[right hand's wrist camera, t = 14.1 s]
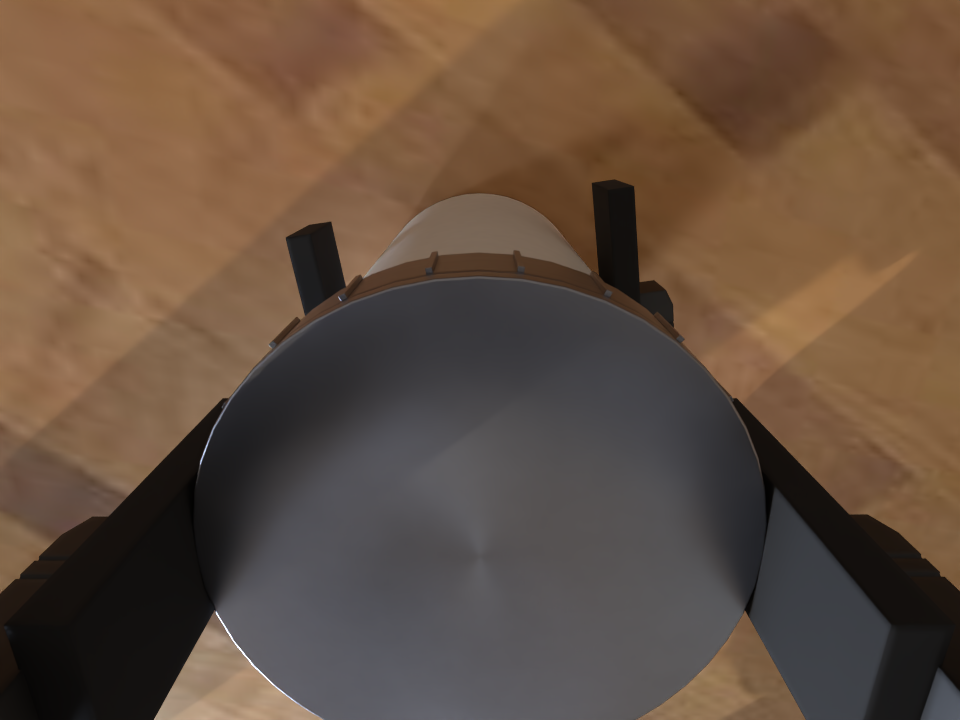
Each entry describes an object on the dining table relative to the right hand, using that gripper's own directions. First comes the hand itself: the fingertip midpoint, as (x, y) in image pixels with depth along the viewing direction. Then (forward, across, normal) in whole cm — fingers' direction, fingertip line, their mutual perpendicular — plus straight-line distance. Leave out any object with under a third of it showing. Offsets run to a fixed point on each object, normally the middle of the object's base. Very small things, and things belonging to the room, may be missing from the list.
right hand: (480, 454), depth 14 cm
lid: (-3, 0, 0) cm, 3 cm away
